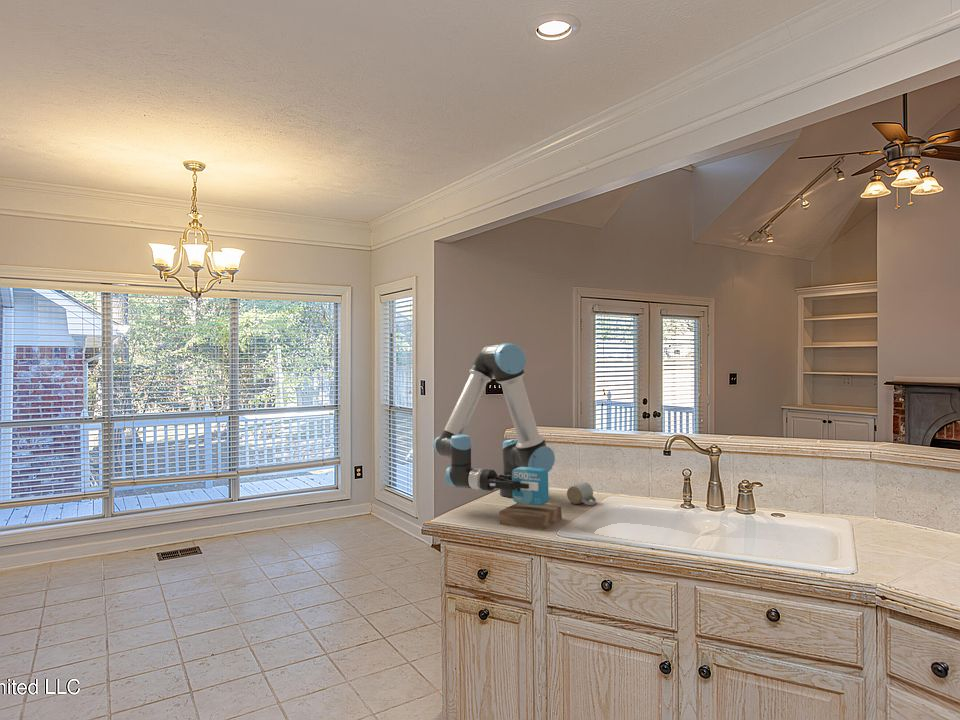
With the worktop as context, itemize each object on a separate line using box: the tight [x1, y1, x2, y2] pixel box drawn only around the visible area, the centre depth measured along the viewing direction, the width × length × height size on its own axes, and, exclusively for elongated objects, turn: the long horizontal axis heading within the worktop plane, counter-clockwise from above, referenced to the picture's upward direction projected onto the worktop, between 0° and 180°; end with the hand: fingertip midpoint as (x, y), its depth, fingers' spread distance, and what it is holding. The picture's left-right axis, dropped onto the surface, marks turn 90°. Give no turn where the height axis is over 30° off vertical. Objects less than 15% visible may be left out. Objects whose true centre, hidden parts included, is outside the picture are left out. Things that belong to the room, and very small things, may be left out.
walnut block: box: [499, 502, 563, 531], centre depth 212 cm, size 16×16×5 cm
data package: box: [512, 467, 550, 506], centre depth 212 cm, size 12×4×12 cm, turn 58°
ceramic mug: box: [566, 481, 597, 506], centre depth 236 cm, size 11×8×8 cm
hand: (541, 485), depth 210 cm, fingers closed on data package, 4 cm apart
